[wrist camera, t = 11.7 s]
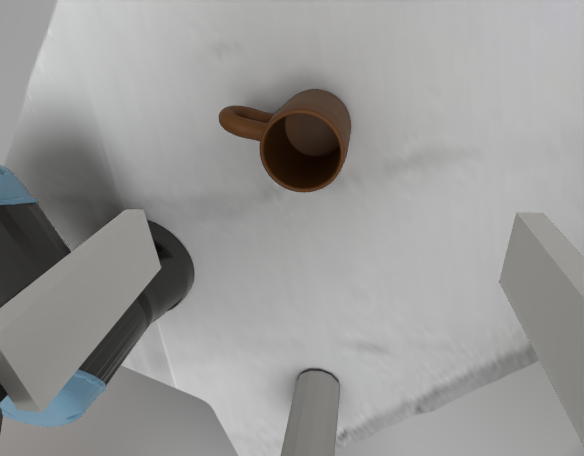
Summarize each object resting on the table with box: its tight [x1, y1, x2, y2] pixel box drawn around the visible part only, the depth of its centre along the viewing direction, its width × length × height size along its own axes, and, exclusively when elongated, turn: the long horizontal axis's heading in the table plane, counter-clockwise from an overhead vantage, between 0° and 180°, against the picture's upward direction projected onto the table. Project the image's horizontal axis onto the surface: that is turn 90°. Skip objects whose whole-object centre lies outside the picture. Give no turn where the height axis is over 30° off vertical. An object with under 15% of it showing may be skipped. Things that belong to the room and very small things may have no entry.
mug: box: [219, 90, 351, 192], centre depth 35 cm, size 12×8×9 cm, turn 73°
